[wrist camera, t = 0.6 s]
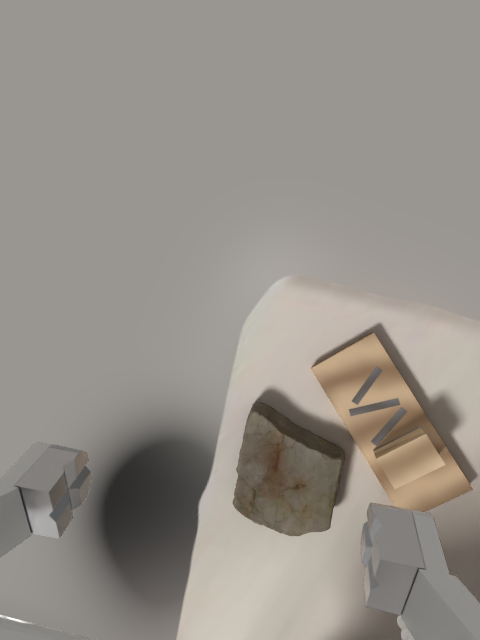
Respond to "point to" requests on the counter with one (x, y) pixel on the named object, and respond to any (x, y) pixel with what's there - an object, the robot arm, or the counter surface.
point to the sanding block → (408, 457)
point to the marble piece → (286, 474)
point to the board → (386, 419)
